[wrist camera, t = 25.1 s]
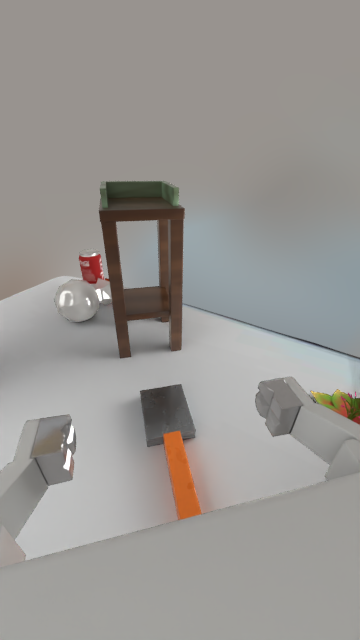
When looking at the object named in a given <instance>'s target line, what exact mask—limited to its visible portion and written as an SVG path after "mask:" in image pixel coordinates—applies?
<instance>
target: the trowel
mask: <svg viewBox="0 0 360 640" xmlns="http://www.w3.org/2000/svg"><path fill="white" fill-rule="evenodd" d="M140 396H141V404H142V411H143V418H144V426H145V433H146V441H147V447H150V446H155V445H160V444H164V448H165V454H166V459H167V464H168V469H169V474H170V480H171V485H172V490H173V495H174V500H175V506H176V511H177V516H178V520H181V519H185V518H189V517H192V516H196V515H200V514H202V513H201V510H200V506H199V502H198V498H197V494H196V490H195V487H194V483H193V479H192V475H191V471H190V467H189V463H188V460H187V456H186V452H185V448H184V444H183V440H185V439H190V438H194V437H195V431H196V430H195V427H194V424H193V420H192V417H191V414H190V411H189V408H188V405H187V401H186V398H185V395H184V392H183V389H182V386H181V384H180V385H173V386H167V387H161V388H155V389H149V390H142V391H140Z"/></svg>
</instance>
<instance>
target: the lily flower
mask: <svg viewBox="0 0 360 640" xmlns="http://www.w3.org/2000/svg"><path fill="white" fill-rule="evenodd" d="M311 392H312V394H313V396H314V398H315V399H316V401H317V403H319V404H321V405H323V406H325V407H327V408H329V409H331V410H332V411H334V412H336V413H338V414H340V415H342V416H344V417H346V418H348V419H350V420H351V421H353V422H355V423H357V424H359V425H360V398H356V393H355V399H353V398H352V394H351V396H350V394H349V393H348V394H346V393H344V392H340V390H338V389H337V390H336V391H335V392H334V394H333V396H330V395H328V394H324V393H319V392H317V393H315V392H313V391H311Z"/></svg>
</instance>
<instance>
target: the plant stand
mask: <svg viewBox="0 0 360 640" xmlns="http://www.w3.org/2000/svg"><path fill="white" fill-rule="evenodd" d="M100 194H101V199H100V207H99V214H100V222H101V224H102V231H103V239H104V245H105V253H106V260H107V267H108V275H109V282H110V289H111V296H112V303H113V310H114V318H115V325H116V332H117V339H118V346H119V354H120V358H126V357H131V353H130V344H129V335H128V326H127V321H130V320H139V319H148V318H158V317H160V318H161V321H162V322H168V321H169V345H170V348H171V351H177V350H181V338H182V283H183V228H184V224H183V223H184V215H185V212H184V211H185V209H184V208H183V207H181V206H180V205H179V188H178V187H176V186H174V185H172V184H170V183H168V182H165V181H127V182H126V181H121V182H120V181H117V182H101V186H100ZM145 220H157V222H158V223H157V224H158V258H159V286H156V287H145V288H133V289H123V281H122V272H121V265H120V264H121V263H120V254H119V245H118V236H117V227H116V222H118V221H145Z"/></svg>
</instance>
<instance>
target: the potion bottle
mask: <svg viewBox="0 0 360 640" xmlns="http://www.w3.org/2000/svg"><path fill="white" fill-rule="evenodd" d="M54 302H55V305H56V308H57V311H58V313H59V314H60V315H62V316H63V317H64V318H66V319H67V320H69V321H73V322H83V321H86V320H88V319H90V318H91V317H93V316H94V315H95V314H96V313H97V311H98V309H99V303H100V302H101V303H103V304H104V305H107V304H109V303H111V302H112V296H111V289H110V282H109V279H105V280H103V279H100V278H98V280H97V283H96V285H93V286H92V285H91V284H89V283H88V282H87V281H86V280H73V279H71V280H70V281H68V282H66V283H64V284H63V285H61V286H59V288H58V291H57V293H56V296H55V298H54Z"/></svg>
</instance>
